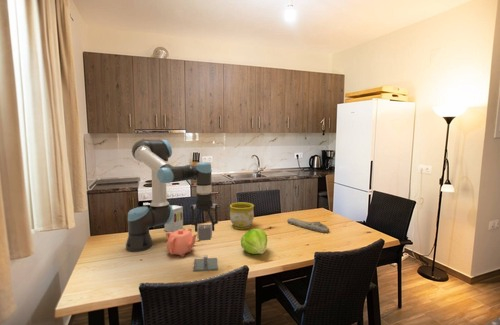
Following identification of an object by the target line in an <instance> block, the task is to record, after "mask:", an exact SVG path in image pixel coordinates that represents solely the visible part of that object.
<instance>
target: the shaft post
mask: <svg viewBox="0 0 500 325" xmlns="http://www.w3.org/2000/svg"><path fill="white" fill-rule="evenodd" d="M217 270H219V268H218V257H209V256H208V254H206V255H205V254H204V255H203V258H194V261H193V272H206V271H217Z"/></svg>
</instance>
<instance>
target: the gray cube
mask: <svg viewBox="0 0 500 325" xmlns="http://www.w3.org/2000/svg"><path fill="white" fill-rule="evenodd" d="M211 239H212V238H211V224H199V239H198V241H211Z"/></svg>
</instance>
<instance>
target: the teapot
mask: <svg viewBox="0 0 500 325" xmlns="http://www.w3.org/2000/svg"><path fill="white" fill-rule="evenodd" d="M165 236H166V238H167V243H166V251H167V252H168V253H170V256H174V255H178V256H179V257H180V258H181V257H185V255H186V254H188V253H190V252H192V250H193V248H194V246H195V244H196V238H197V233H194V234H193V233H192V228H188V229H187V230H186V229H184V228H183V229H179V230H177V231H175V232H173V233H172V232H168V231H166V233H165Z"/></svg>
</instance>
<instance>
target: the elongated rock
mask: <svg viewBox="0 0 500 325" xmlns="http://www.w3.org/2000/svg"><path fill="white" fill-rule="evenodd" d="M286 222H287V224H291V225H293V226H295V227H299V228H302V229H307V230H310V231H313V232H317V233H319V232H320V233H324V234H325V233H328V232H329V231H330V228H329V227H328V226H327V225H326V224H323V223H321V222H320V221H311V222H310V221H305V220H300V219H296V218H294V217H291V218H288V219H287V220H286Z"/></svg>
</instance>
